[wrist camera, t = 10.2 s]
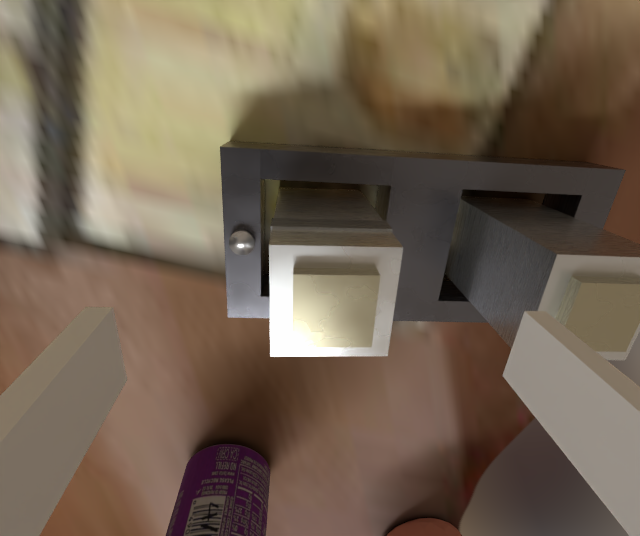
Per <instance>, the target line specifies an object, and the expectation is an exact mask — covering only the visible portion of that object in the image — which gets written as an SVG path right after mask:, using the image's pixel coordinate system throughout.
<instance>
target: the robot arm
mask: <svg viewBox="0 0 640 536" xmlns="http://www.w3.org/2000/svg"><path fill="white" fill-rule="evenodd" d="M503 377H504V378H505V380H506V381H507V382H508V383H509V385H510V386H511V387H512V388H513V390H514V391H515V392H516V393H517V395H518V396H519V397H520V398H521V400H522V401H523V402H524V403H525V405H526V406H527V407H528V408H529V410H530V411H531V412H532V414H533V415H534V416H535V417H536V419H537V420H538V421H539V422H540V424H541V425H542V426H543V427H544V429H545V430H546V431H547V432H548V434H549V435H550V436H551V437H552V439H553V440H554V441H555V442H556V444H557V445H558V446H559V447H560V449H561V450H562V451H563V452H564V454H565V455H566V456H567V458H568V459H569V460H570V461H571V463H572V464H573V465H574V466H575V468H576V469H577V470H578V471H579V473H580V474H581V475H582V476H583V478H584V479H585V480H586V481H587V483H588V484H589V485H590V487H591V488H592V489H593V490H594V491H595V493H596V494H597V495H598V497H599V498H600V499H601V500H602V502H603V503H604V504H605V505H606V507H607V508H608V509H609V510H610V512H611V513H612V514H613V516H614V517H615V518H616V519H617V521H618V522H619V523H620V524H621V526H622V527H623V528H624V529H625V531H626V532H627V533H628V534H629V536H640V387H639V386H638V385H637V384H635V383H634V382H633V381H632V380H630V379H629V378H628V377H627V376H625V375H624V374H623V373H622V372H620V371H619V370H618V369H617V368H615V367H614V366H613V365H612V364H611V363H609V362H608V361H607V360H606V359H604V358H603V357H602V356H601V355H599V354H598V353H597V352H596V351H594V350H593V349H592V348H591V347H589V346H588V345H587V344H586V343H584V342H583V341H582V340H581V339H579V338H578V337H577V336H576V335H574V334H573V333H572V332H571V331H570V330H568V329H567V328H566V327H565V326H563V325H562V324H561V323H560V322H558V321H557V320H556V319H555V318H553V317H552V316H551V315H550V314H548V313H547V312H546V311H524V314H523V317H522V320H521V323H520V326H519V329H518V331H517V334H516V337H515V340H514V343H513V346H512V349H511V352H510V355H509V358H508V361H507V364H506V367H505V370H504V373H503ZM126 381H127V377H126V371H125V366H124V361H123V356H122V351H121V346H120V340H119V335H118V330H117V325H116V320H115V315H114V310H113V307H85V308H84V310H83V311H82V312H81V313H80V314H79V315H78V316H77V317H76V318H75V319H74V320H73V321H72V322H71V323H70V324H69V325H68V326H67V327H66V328H65V329H64V330H63V331H62V332H61V333H60V334H59V335H58V336H57V338H56V339H55V340H54V341H53V342H52V343H51V344H50V345H49V346H48V347H47V348H46V349H45V350H44V351H43V352H42V353H41V354H40V355H39V356H38V357H37V358H36V359H35V360H34V361H33V362H32V363H31V364H30V366H29V367H28V368H27V369H26V370H25V371H24V372H23V373H22V374H21V375H20V376H19V377H18V378H17V379H16V380H15V381H14V382H13V383H12V384H11V385H10V386H9V387H8V388H7V389H6V390H5V391H4V392H3V393H2V395H1V396H0V536H39V535H40V534H41V532H42V530H43V528H44V526H45V525H46V523H47V521H48V519H49V518H50V516H51V514H52V512H53V510H54V509H55V507H56V505H57V503H58V502H59V500H60V498H61V496H62V495H63V493H64V491H65V489H66V487H67V486H68V484H69V482H70V480H71V479H72V477H73V475H74V473H75V472H76V470H77V468H78V466H79V464H80V463H81V461H82V459H83V457H84V456H85V454H86V452H87V450H88V448H89V447H90V445H91V443H92V441H93V440H94V438H95V436H96V434H97V433H98V431H99V429H100V427H101V425H102V424H103V422H104V420H105V418H106V417H107V415H108V413H109V411H110V409H111V408H112V406H113V404H114V402H115V401H116V399H117V397H118V395H119V394H120V392H121V390H122V388H123V386H124V385H125V383H126Z"/></svg>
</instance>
